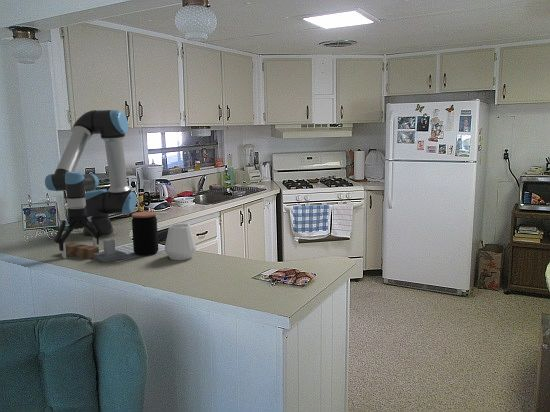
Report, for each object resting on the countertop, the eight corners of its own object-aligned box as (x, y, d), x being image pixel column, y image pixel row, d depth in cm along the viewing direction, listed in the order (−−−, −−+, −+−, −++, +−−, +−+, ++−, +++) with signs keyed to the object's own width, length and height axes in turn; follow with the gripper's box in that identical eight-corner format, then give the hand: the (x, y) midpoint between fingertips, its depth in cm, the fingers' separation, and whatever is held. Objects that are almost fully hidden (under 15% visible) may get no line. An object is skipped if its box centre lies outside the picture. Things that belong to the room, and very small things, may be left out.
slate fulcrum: (115, 253, 204) (114, 236, 203) (126, 257, 197) (125, 239, 196) (93, 258, 197) (92, 240, 196) (104, 262, 190) (102, 243, 189)
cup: (194, 261, 191) (193, 228, 189) (162, 261, 191) (160, 229, 188) (197, 252, 205) (196, 222, 202) (167, 253, 204) (166, 222, 201)
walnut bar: (62, 254, 204) (61, 244, 203) (71, 252, 208) (71, 242, 208) (89, 259, 196) (89, 249, 195) (99, 257, 200) (98, 247, 199)
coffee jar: (147, 248, 212) (145, 210, 209) (163, 252, 206) (161, 212, 203) (128, 253, 203) (126, 214, 200) (144, 257, 197) (142, 216, 194)
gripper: (100, 203, 210) (103, 248, 213) (43, 209, 192) (47, 258, 196) (108, 205, 204) (111, 251, 208) (49, 212, 187) (53, 262, 190)
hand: (80, 254), depth 202 cm, fingers open, 13 cm apart
